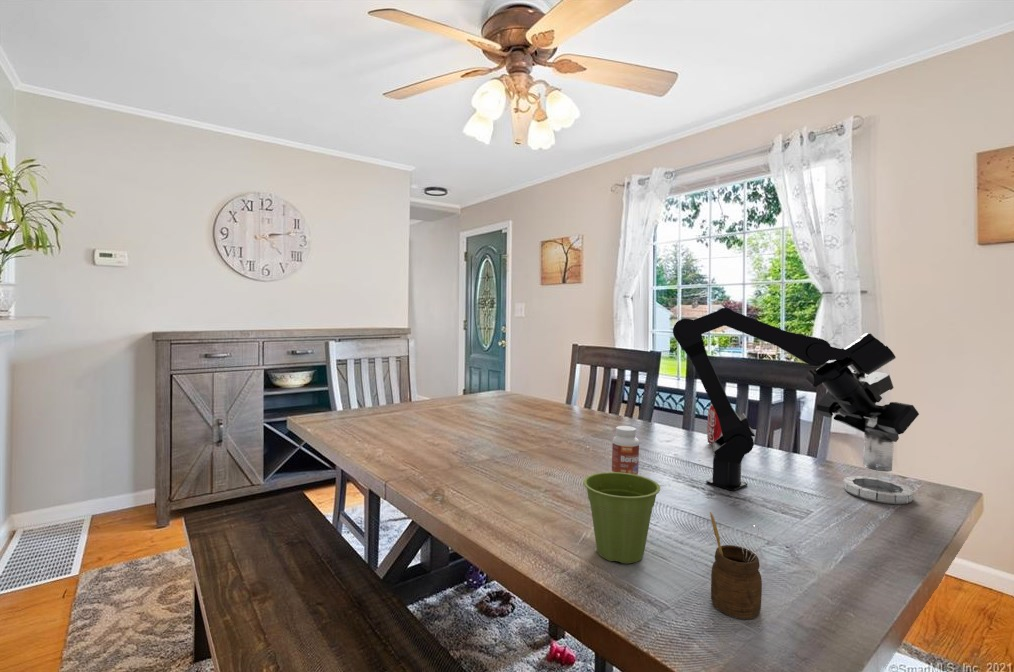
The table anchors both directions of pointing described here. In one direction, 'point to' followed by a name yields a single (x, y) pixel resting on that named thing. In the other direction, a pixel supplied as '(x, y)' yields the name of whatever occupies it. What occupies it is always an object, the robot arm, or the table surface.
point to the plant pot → (621, 513)
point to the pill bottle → (625, 451)
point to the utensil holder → (736, 579)
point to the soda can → (713, 426)
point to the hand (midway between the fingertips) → (884, 437)
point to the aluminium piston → (876, 448)
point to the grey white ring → (878, 490)
